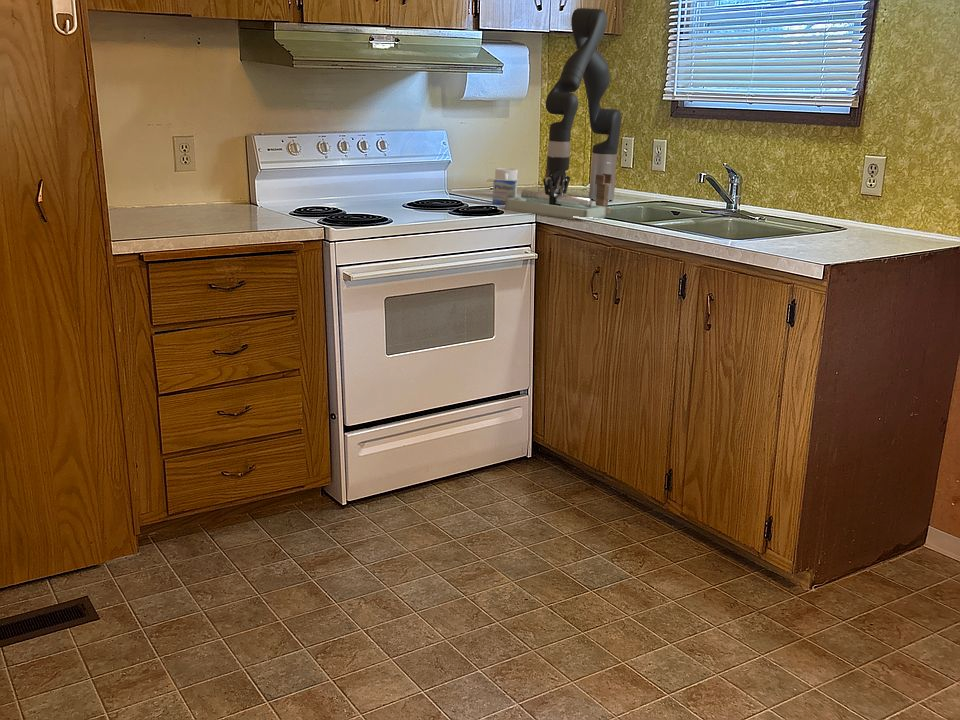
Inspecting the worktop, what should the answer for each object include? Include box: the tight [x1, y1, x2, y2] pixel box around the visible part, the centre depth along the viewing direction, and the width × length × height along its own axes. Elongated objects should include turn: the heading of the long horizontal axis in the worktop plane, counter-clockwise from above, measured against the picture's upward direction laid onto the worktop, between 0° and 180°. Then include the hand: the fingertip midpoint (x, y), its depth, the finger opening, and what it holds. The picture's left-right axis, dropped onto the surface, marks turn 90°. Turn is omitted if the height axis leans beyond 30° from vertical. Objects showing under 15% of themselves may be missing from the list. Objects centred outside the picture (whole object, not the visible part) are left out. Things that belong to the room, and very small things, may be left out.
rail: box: [520, 189, 593, 208], centre depth 311 cm, size 3×26×3 cm, turn 53°
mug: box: [494, 167, 519, 195], centre depth 343 cm, size 12×8×10 cm
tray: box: [504, 196, 607, 220], centre depth 311 cm, size 13×32×4 cm, turn 54°
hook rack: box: [544, 168, 612, 215], centre depth 321 cm, size 6×24×13 cm, turn 53°
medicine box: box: [491, 178, 518, 206], centre depth 326 cm, size 8×4×9 cm, turn 83°
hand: (555, 207), depth 311 cm, fingers closed on rail, 3 cm apart
